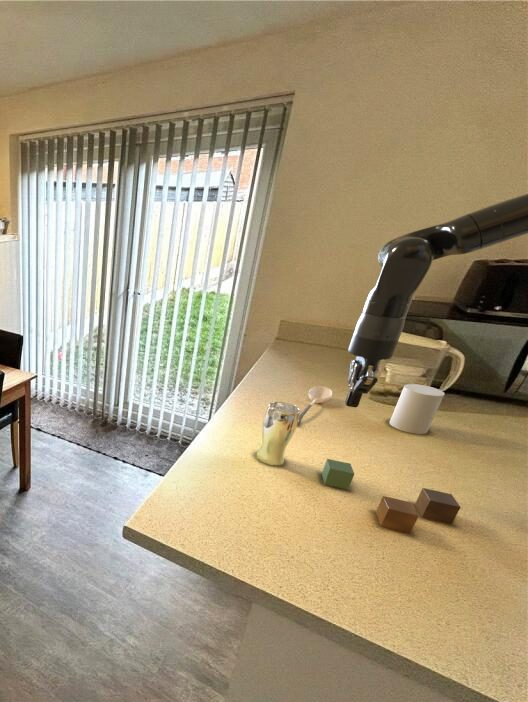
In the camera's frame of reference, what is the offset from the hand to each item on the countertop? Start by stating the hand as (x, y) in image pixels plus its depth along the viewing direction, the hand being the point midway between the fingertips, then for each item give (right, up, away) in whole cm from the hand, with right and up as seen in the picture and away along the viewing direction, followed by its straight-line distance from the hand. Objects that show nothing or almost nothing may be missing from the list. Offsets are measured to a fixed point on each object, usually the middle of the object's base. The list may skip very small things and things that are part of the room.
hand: (350, 405), depth 92 cm
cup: (+37, -8, +23) cm, 44 cm away
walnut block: (+9, -22, -10) cm, 26 cm away
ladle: (+16, -4, +34) cm, 38 cm away
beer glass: (-13, -15, +10) cm, 22 cm away
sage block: (-3, -18, +1) cm, 18 cm away
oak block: (-2, -23, -12) cm, 26 cm away
